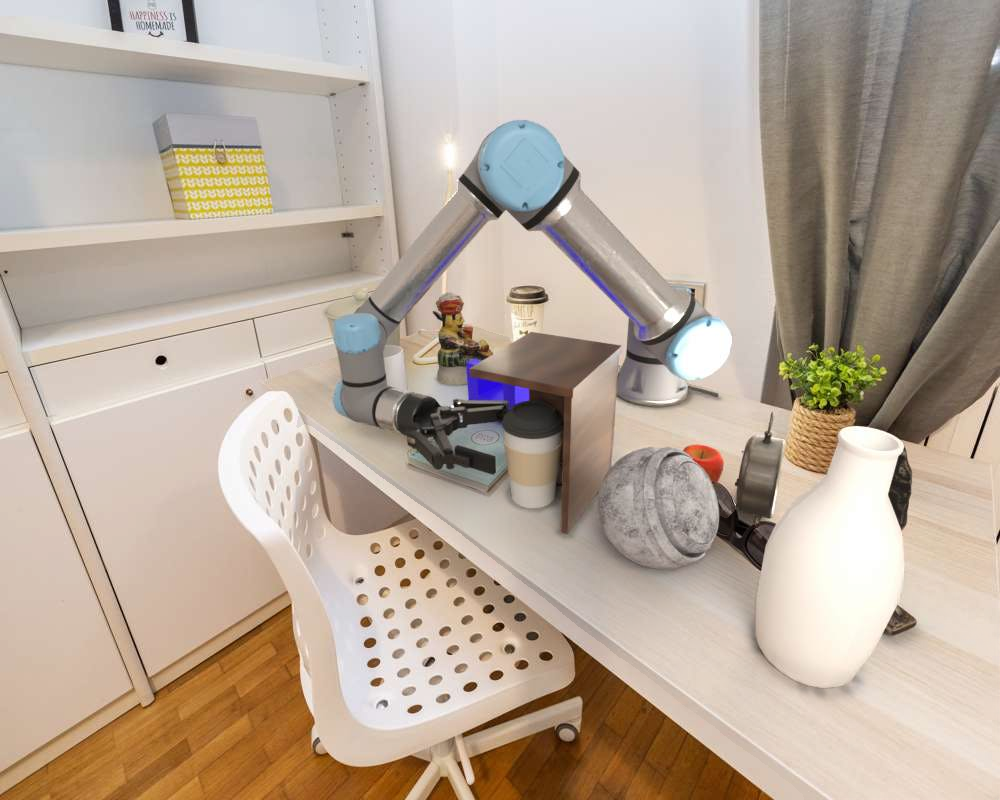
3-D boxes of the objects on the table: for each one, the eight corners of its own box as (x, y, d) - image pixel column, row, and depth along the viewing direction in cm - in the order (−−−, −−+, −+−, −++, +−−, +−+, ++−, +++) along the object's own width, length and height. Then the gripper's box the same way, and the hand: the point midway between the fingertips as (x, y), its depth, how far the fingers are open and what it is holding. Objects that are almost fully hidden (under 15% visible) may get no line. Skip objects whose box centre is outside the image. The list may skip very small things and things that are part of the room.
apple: (666, 486, 81) (671, 444, 77) (697, 477, 83) (704, 436, 79) (694, 509, 75) (701, 465, 72) (727, 498, 77) (735, 455, 74)
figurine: (476, 391, 115) (471, 304, 107) (422, 380, 122) (413, 297, 114) (503, 373, 125) (500, 291, 116) (451, 363, 132) (445, 285, 123)
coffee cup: (495, 505, 77) (491, 417, 71) (516, 473, 85) (514, 391, 79) (552, 518, 74) (554, 427, 68) (569, 484, 82) (572, 399, 75)
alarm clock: (766, 541, 69) (792, 435, 62) (723, 528, 71) (743, 425, 64) (776, 498, 77) (799, 400, 70) (737, 488, 80) (756, 392, 73)
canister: (384, 354, 139) (374, 276, 130) (423, 371, 127) (414, 286, 118) (322, 373, 128) (305, 289, 119) (357, 393, 116) (342, 302, 107)
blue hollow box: (515, 430, 98) (514, 380, 94) (469, 409, 107) (466, 362, 103) (583, 395, 111) (585, 350, 107) (536, 379, 120) (536, 336, 116)
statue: (889, 642, 54) (955, 484, 46) (828, 595, 60) (876, 447, 51) (916, 629, 55) (985, 473, 47) (853, 584, 61) (904, 438, 53)
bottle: (828, 724, 47) (917, 493, 36) (722, 638, 55) (767, 430, 44) (888, 664, 52) (982, 446, 41) (782, 593, 60) (837, 398, 50)
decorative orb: (681, 615, 58) (699, 507, 52) (573, 559, 67) (577, 460, 60) (727, 544, 68) (746, 447, 62) (628, 503, 77) (636, 414, 70)
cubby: (477, 504, 78) (469, 368, 68) (531, 451, 91) (530, 331, 82) (568, 536, 71) (573, 389, 61) (612, 473, 84) (622, 345, 75)
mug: (361, 419, 105) (352, 364, 99) (350, 404, 111) (341, 352, 106) (416, 405, 110) (409, 353, 104) (402, 392, 116) (396, 341, 111)
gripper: (454, 405, 99) (554, 430, 88) (359, 468, 80) (473, 509, 69) (451, 369, 95) (554, 390, 85) (352, 425, 76) (469, 462, 66)
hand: (518, 444), depth 77 cm, fingers open, 13 cm apart
